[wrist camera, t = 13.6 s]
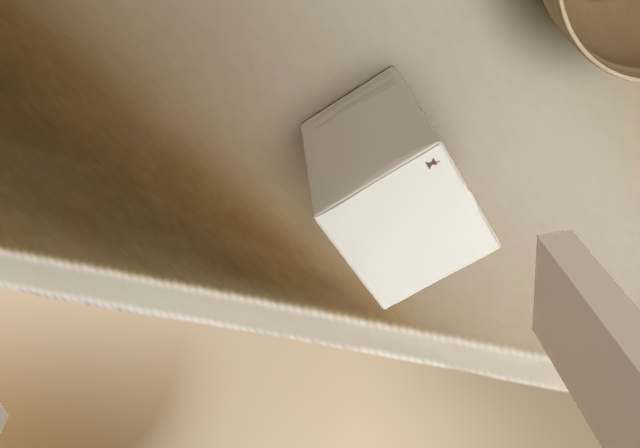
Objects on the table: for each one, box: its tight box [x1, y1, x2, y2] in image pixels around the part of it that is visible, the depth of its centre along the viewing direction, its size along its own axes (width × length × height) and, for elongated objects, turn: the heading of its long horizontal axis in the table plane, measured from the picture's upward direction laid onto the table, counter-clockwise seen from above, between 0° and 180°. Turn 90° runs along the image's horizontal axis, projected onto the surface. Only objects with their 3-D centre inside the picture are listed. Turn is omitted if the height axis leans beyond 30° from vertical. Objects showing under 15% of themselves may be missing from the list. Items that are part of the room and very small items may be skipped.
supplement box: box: [300, 66, 501, 309], centre depth 43 cm, size 9×9×15 cm
